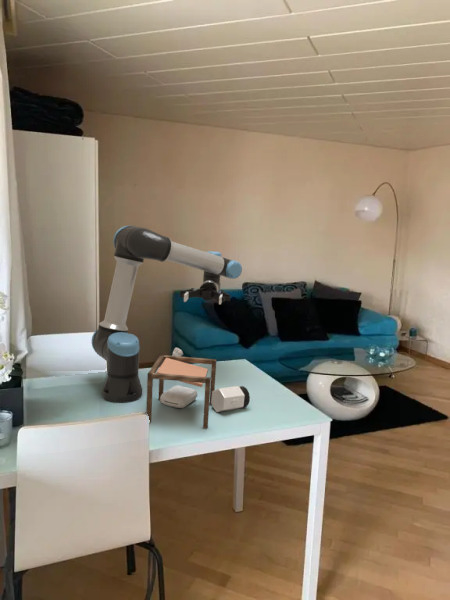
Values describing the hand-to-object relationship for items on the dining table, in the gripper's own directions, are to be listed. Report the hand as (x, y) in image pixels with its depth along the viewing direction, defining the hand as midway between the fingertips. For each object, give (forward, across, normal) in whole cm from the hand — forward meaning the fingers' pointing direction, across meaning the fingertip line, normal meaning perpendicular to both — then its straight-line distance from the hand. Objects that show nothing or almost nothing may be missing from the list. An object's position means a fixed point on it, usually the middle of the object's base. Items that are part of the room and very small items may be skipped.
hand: (202, 299), depth 185 cm
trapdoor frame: (+20, +3, -38) cm, 43 cm away
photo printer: (+5, +4, -36) cm, 36 cm away
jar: (+17, -9, -34) cm, 39 cm away
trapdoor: (+20, +3, -23) cm, 30 cm away
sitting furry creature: (-19, +13, -38) cm, 45 cm away
